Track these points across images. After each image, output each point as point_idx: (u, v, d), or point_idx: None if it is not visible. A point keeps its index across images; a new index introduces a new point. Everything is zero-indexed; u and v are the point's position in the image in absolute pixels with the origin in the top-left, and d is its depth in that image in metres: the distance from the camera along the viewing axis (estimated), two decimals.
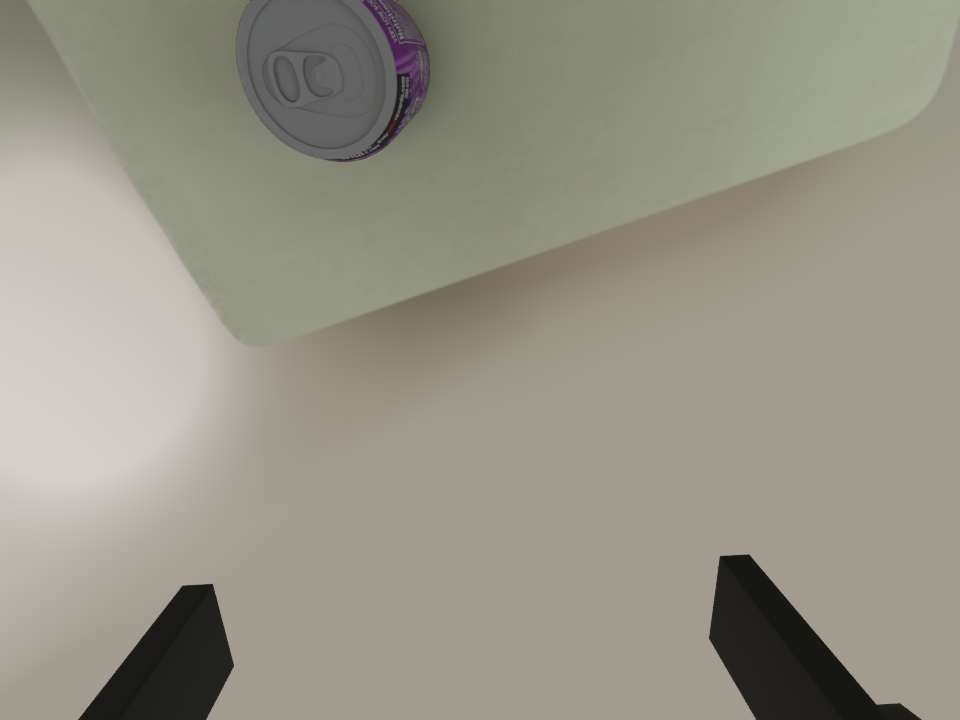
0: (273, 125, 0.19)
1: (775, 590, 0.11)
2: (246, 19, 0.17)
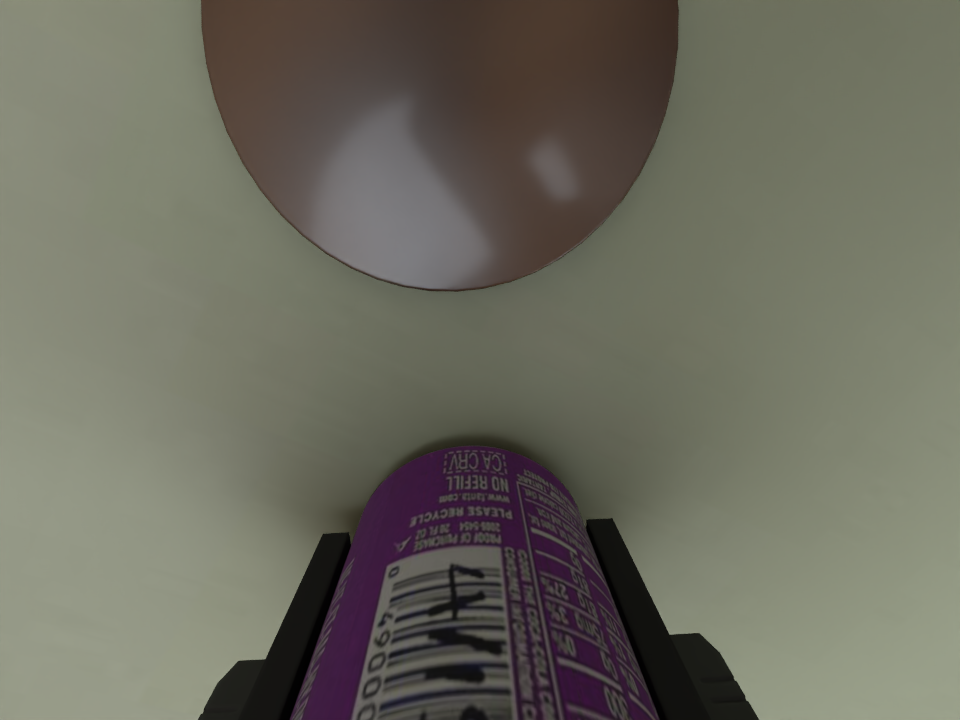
0: None
1: (624, 546, 0.12)
2: None
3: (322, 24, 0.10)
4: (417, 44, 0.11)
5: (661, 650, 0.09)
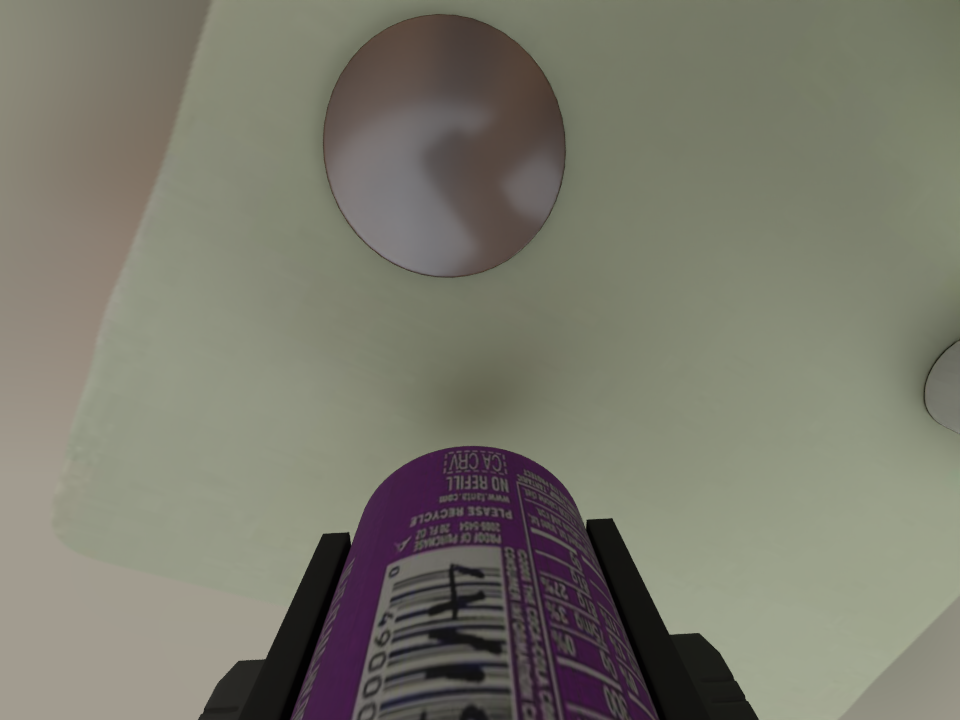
0: None
1: (624, 546, 0.12)
2: None
3: (384, 140, 0.21)
4: (432, 150, 0.21)
5: (661, 650, 0.09)
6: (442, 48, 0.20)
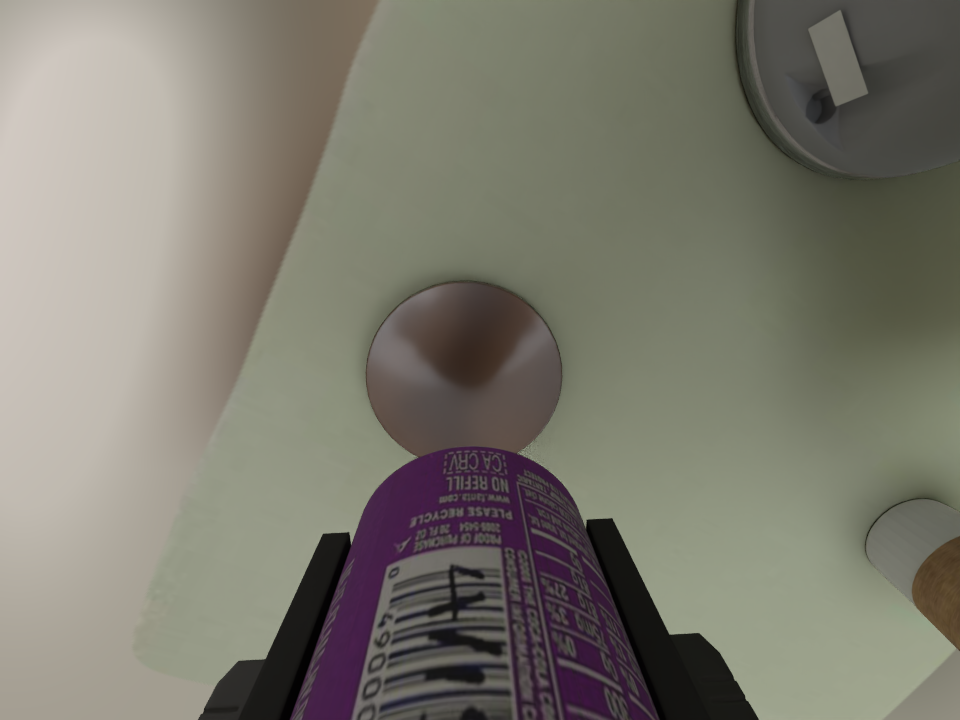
0: None
1: (624, 546, 0.12)
2: None
3: (415, 370, 0.25)
4: (453, 377, 0.26)
5: (661, 650, 0.09)
6: (463, 306, 0.24)
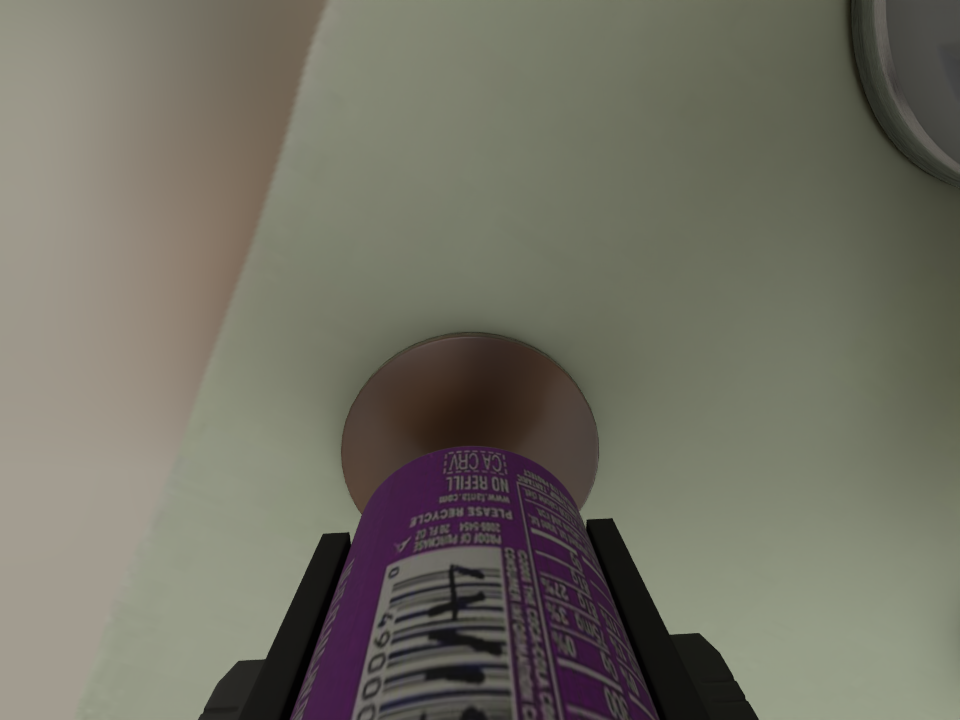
0: None
1: (624, 546, 0.12)
2: None
3: (405, 449, 0.19)
4: None
5: (661, 650, 0.09)
6: (468, 367, 0.18)
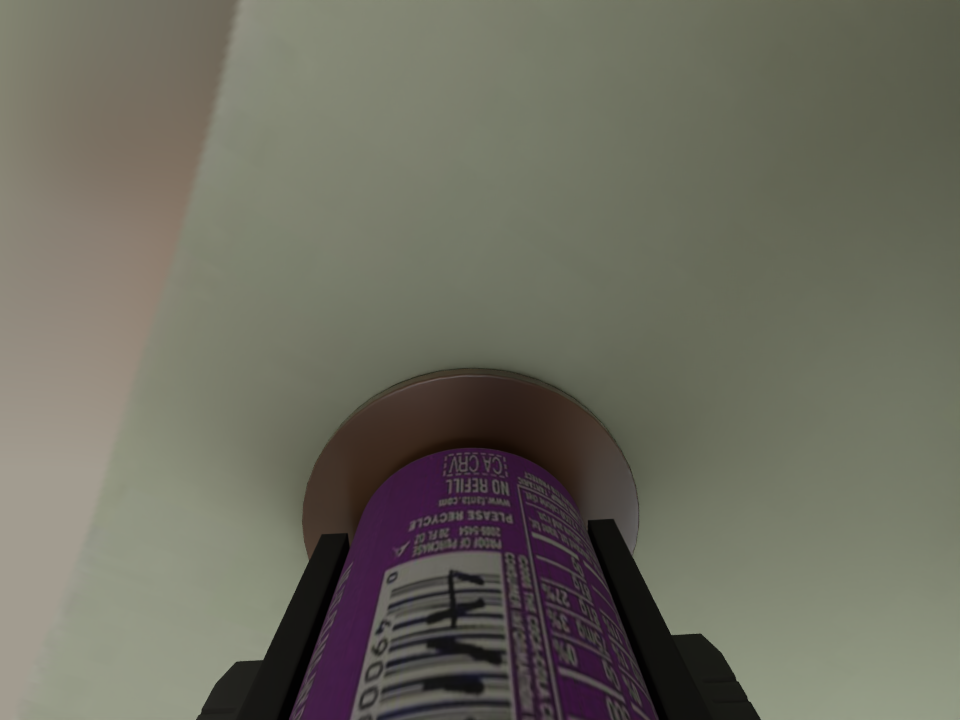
0: None
1: (625, 546, 0.12)
2: None
3: None
4: None
5: (663, 650, 0.09)
6: (469, 415, 0.14)
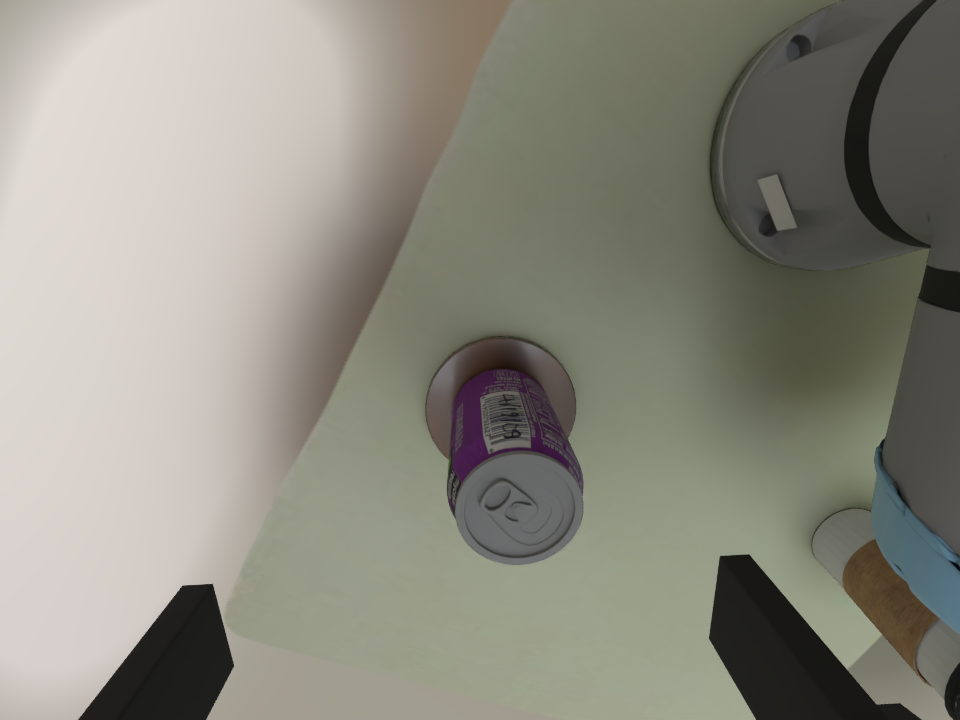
0: (460, 510, 0.22)
1: (775, 590, 0.11)
2: (509, 459, 0.21)
3: None
4: None
5: None
6: (502, 356, 0.32)
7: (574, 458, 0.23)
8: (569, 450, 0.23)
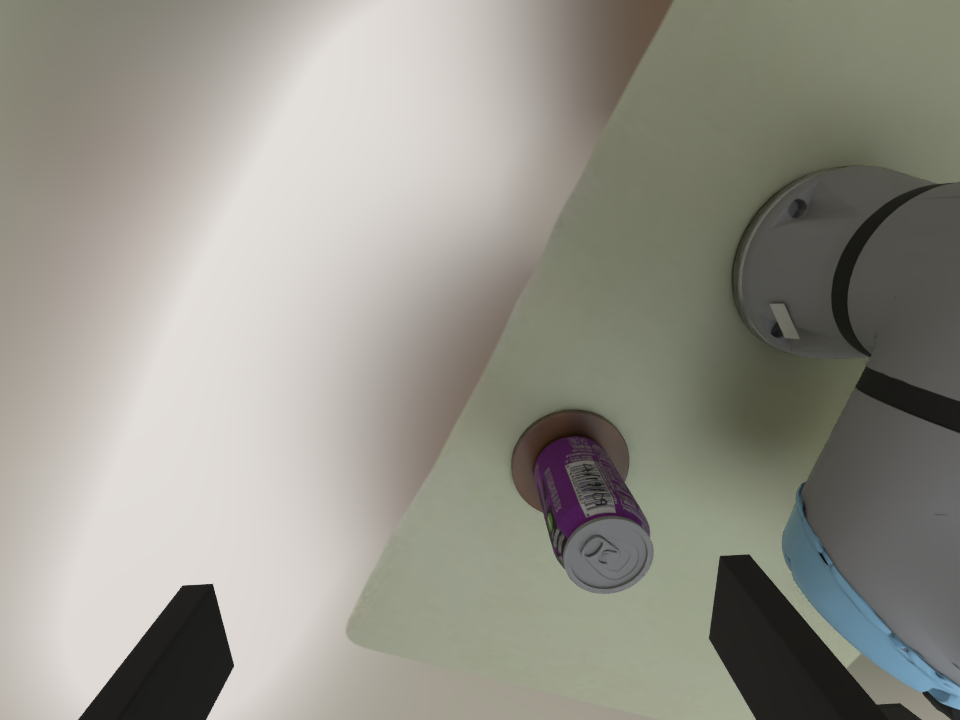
0: (567, 557, 0.31)
1: (775, 590, 0.11)
2: (602, 522, 0.30)
3: None
4: None
5: None
6: (572, 425, 0.41)
7: (644, 517, 0.32)
8: (640, 511, 0.32)
